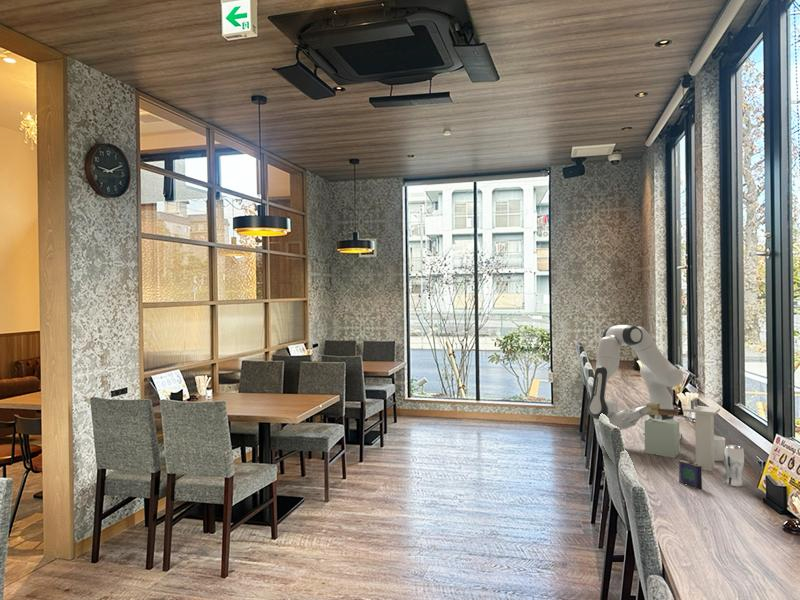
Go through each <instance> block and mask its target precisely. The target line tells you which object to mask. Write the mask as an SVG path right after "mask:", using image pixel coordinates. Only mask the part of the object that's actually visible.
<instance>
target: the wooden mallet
mask: <svg viewBox="0 0 800 600" xmlns="http://www.w3.org/2000/svg"><path fill="white" fill-rule="evenodd" d="M645 406H646V408H649V407H651V408H652V411H650V412H648V413H647V415H648V416H649V415H674V416H679V409H677V408H673V409H660V403H650V402H648V403H646V404H645ZM647 415H646V416H647Z"/></svg>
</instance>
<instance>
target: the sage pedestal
mask: <svg viewBox="0 0 800 600" xmlns="http://www.w3.org/2000/svg"><path fill="white" fill-rule="evenodd" d="M647 419H648V418H647ZM644 431H645V434H644V454H649V455H654V454H656V456H660V455H661V457H666V456H667V457H666V458H673V459H675V458H676V457H677V456H678V455H680V452H681V451H680V439H679V431H680V421H676V420H675V421H667V420H660V419H652V418H650V419H648V420H647V421H646V420H645V421H644Z"/></svg>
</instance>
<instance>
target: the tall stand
mask: <svg viewBox="0 0 800 600" xmlns="http://www.w3.org/2000/svg"><path fill="white" fill-rule="evenodd" d="M698 398H699V397H694V398H692V399H691V400H690V404H688V405H687V406H686V407H685V408H684V407H683V412H685V413H687V412H688V413H694V414H695V415H694V418H695V419H694V420H695V421H694V422H695V423H694V425H695V427H694V429H695V464H696V463H697V464H698V465H701V471H707V470H709V472H712V471H713V470H714V469H715V461H714V436H715V424H714V423H715V419H714V416H715V415H717V414H718V413H719V412H720V411H721V407H716V406H715V407H714V406H706V405H704V406H703V405H698V401H699V400H698Z"/></svg>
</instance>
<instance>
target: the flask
mask: <svg viewBox="0 0 800 600" xmlns="http://www.w3.org/2000/svg"><path fill="white" fill-rule="evenodd" d="M702 475H703V474H702V469H701V465H698V464H697V463H696V462H695V461H693V458H687V460H684V459H683V460H682V459H681V460H678V482H679V483H680V484H681V483H683V484H682V485H685V484H687V485H689V486H688V487H691V488H694V489H697V490H702V489H703V481H702V480H703V478H702ZM687 485H686V486H687Z"/></svg>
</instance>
